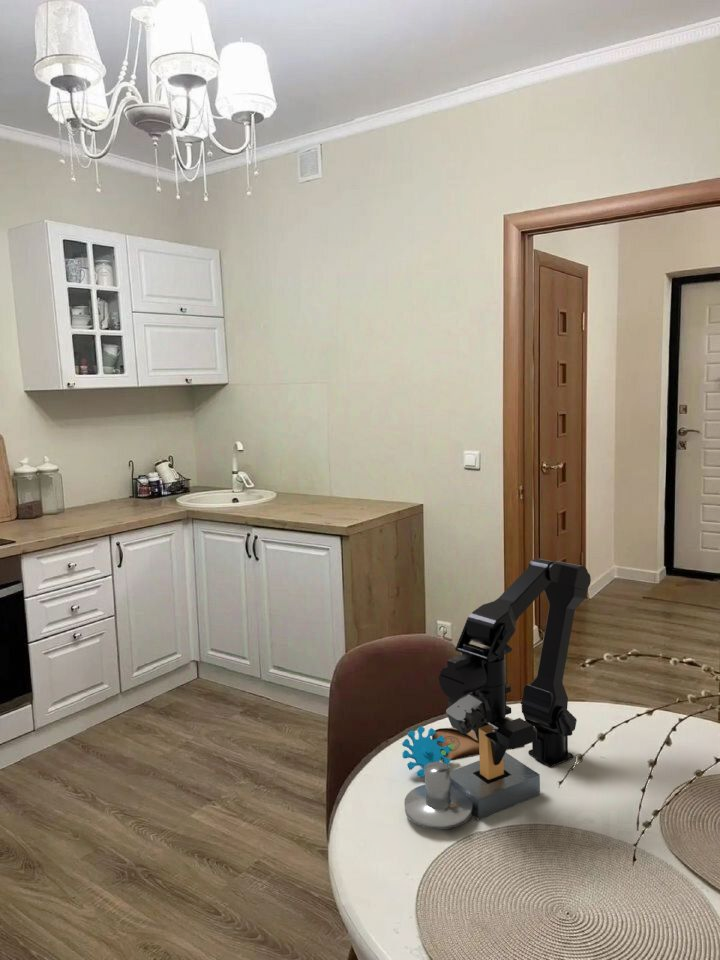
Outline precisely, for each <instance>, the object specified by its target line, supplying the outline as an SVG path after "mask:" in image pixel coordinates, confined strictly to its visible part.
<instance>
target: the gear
mask: <svg viewBox="0 0 720 960" xmlns="http://www.w3.org/2000/svg"><path fill="white" fill-rule="evenodd" d="M416 729H417V730H416V731H417V734H418V738H417V739H416V737H415V735H416V732H415V730H410V731H408V732H407V737H409V738H410V739H411V742H412V745H411V743H410V740H409V739H408V738H405V739H404V740H403V742H402V743H401V745H402V746H403V747H404V748H405V747H406V748H408V749H409V751H411V753H410V752H409V751H408V750H407V749H405V750H403V751H402V758H403V759H413V760H415V762H413V761H409V762H408V763H407V768H408V770H409V771H411V770H413V769H414V768H415V767H416V766H421V767H422V769H418V770H417V772H416V775H417V776H418V777H419V778H423V776H424V777H425V770H424V768H425V766H426V765H427V764H428V763H431V762H441V761H440V760H442V762H443V763H445V764H447V765H448V766H449V764H450V763H451V761H452V760H450V759H449V758H446V757H447V756H448V754H449V752H450V751H452V750H453V749H454V745H453V744H450V745H449V746H446V747H441V746H439V745H437V742H439V743H443V742H444V741H445V739H444V737H443V736H442V735H441V736H439V737H438V739H434V740H432V736H433V735H434V734H435V733H436V731H435V730H436V729H434V728H432V727H431V728H429V729H428V731H427V735H426V736H424V735H423V733H424V732H425V731H426V729H425V727H423V726H419V727H418V728H416Z"/></svg>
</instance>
